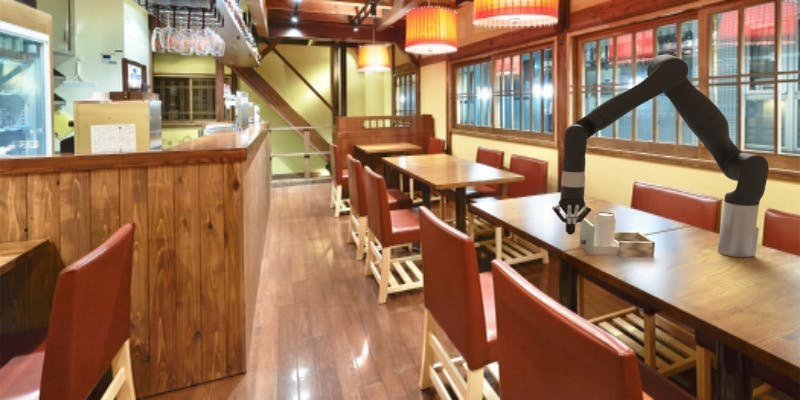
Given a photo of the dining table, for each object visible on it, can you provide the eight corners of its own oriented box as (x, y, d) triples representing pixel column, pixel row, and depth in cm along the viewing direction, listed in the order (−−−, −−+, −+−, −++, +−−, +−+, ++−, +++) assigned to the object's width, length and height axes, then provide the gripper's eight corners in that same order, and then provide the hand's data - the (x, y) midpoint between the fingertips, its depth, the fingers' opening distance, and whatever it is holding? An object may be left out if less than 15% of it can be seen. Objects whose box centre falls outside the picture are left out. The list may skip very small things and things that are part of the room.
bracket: (611, 244, 162) (613, 217, 160) (624, 255, 151) (626, 226, 149) (575, 244, 164) (577, 217, 162) (586, 255, 152) (587, 226, 150)
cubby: (637, 245, 162) (638, 231, 161) (653, 257, 149) (655, 242, 148) (605, 245, 163) (606, 231, 162) (618, 256, 151) (620, 242, 150)
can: (588, 246, 159) (591, 212, 156) (604, 244, 161) (606, 210, 158) (601, 251, 153) (604, 216, 150) (617, 249, 155) (620, 215, 152)
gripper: (555, 186, 151) (552, 236, 154) (596, 186, 149) (593, 237, 153) (550, 182, 158) (548, 230, 161) (589, 182, 157) (586, 231, 160)
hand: (570, 233), depth 157 cm, fingers closed
